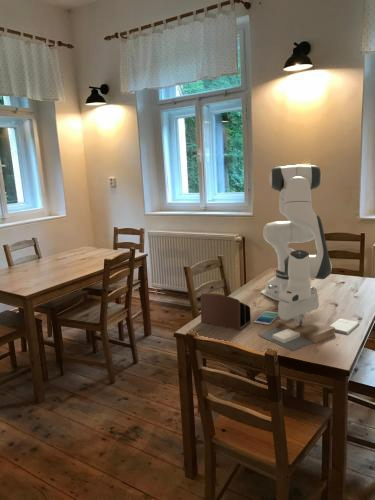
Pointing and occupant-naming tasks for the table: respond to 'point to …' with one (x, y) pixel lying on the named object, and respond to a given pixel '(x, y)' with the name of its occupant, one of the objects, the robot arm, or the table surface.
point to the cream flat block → (286, 335)
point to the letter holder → (224, 311)
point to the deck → (308, 329)
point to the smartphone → (266, 318)
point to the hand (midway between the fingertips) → (299, 324)
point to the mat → (290, 345)
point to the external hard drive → (344, 326)
